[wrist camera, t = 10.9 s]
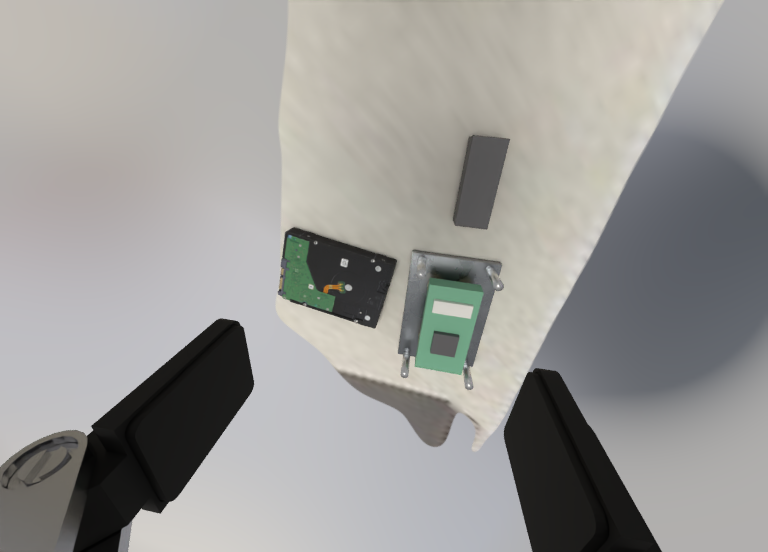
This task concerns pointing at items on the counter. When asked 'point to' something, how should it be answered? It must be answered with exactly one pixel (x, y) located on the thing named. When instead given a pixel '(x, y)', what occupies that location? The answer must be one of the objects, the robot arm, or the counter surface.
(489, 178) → the block
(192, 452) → the robot arm
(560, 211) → the counter surface
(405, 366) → the chassis
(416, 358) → the board
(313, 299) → the disk drive
